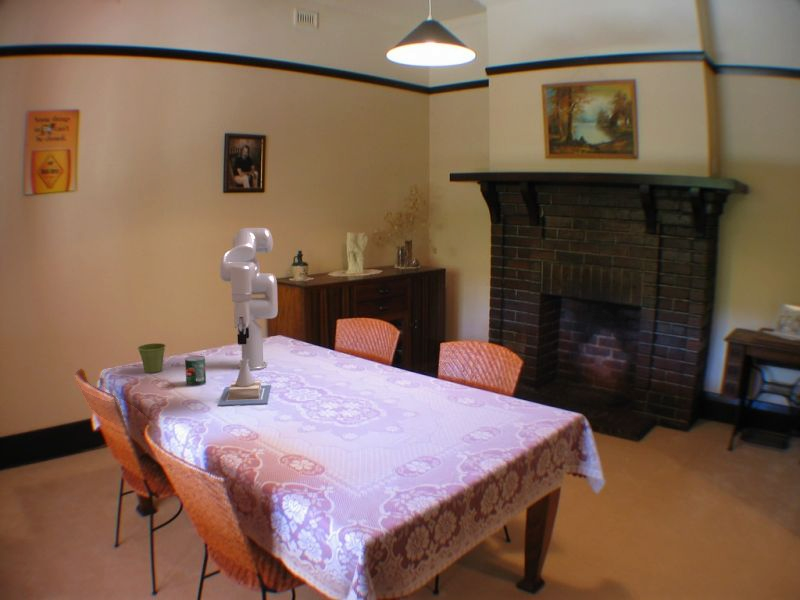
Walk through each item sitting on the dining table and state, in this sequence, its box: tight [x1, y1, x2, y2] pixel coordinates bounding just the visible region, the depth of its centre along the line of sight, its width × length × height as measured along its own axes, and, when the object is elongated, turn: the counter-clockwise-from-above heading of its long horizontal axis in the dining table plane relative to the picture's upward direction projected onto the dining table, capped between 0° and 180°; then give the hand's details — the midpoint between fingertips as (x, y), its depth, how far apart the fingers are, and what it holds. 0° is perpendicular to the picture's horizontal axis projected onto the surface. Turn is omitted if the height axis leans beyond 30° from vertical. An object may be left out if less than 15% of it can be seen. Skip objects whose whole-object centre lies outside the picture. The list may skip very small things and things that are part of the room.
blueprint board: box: [217, 384, 272, 407], centre depth 253 cm, size 22×18×1 cm
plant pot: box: [136, 342, 167, 374], centre depth 285 cm, size 12×12×11 cm
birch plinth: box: [229, 379, 262, 400], centre depth 252 cm, size 11×11×4 cm
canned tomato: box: [184, 355, 207, 387], centre depth 267 cm, size 8×8×11 cm
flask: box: [235, 358, 255, 387], centre depth 251 cm, size 7×7×10 cm
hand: (243, 341), depth 249 cm, fingers open, 9 cm apart
